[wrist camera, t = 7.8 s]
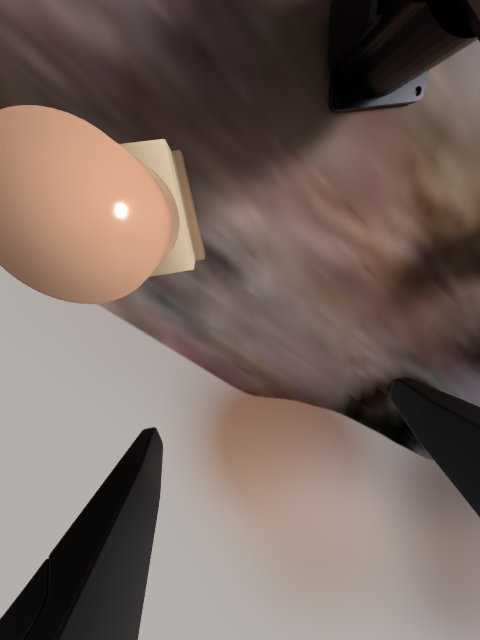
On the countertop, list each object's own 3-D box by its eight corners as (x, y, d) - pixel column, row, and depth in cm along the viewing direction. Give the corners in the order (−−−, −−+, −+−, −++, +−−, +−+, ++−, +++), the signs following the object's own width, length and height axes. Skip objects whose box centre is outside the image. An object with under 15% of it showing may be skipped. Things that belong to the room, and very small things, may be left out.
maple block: (174, 156, 12) (164, 138, 9) (195, 257, 15) (193, 269, 12) (71, 169, 12) (24, 154, 9) (111, 270, 14) (85, 286, 11)
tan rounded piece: (166, 152, 9) (132, 98, 5) (188, 261, 11) (176, 293, 7) (52, 160, 9) (-97, 111, 5) (95, 272, 11) (21, 313, 7)
